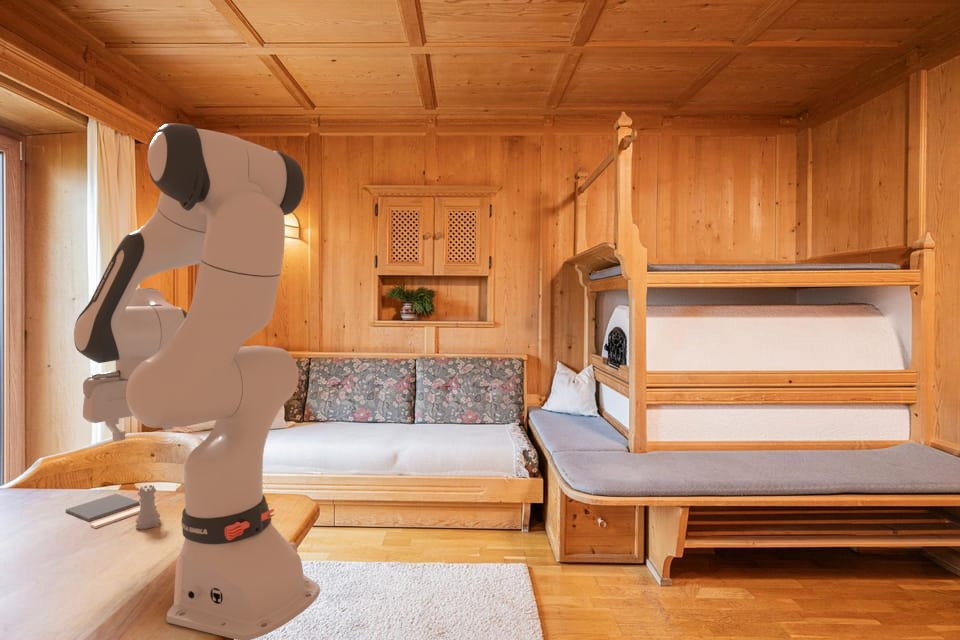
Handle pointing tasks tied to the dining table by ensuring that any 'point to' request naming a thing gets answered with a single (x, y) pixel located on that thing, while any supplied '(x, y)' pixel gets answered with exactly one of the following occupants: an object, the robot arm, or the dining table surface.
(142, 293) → the robot arm
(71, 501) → the dining table surface
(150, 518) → the rook chess piece
